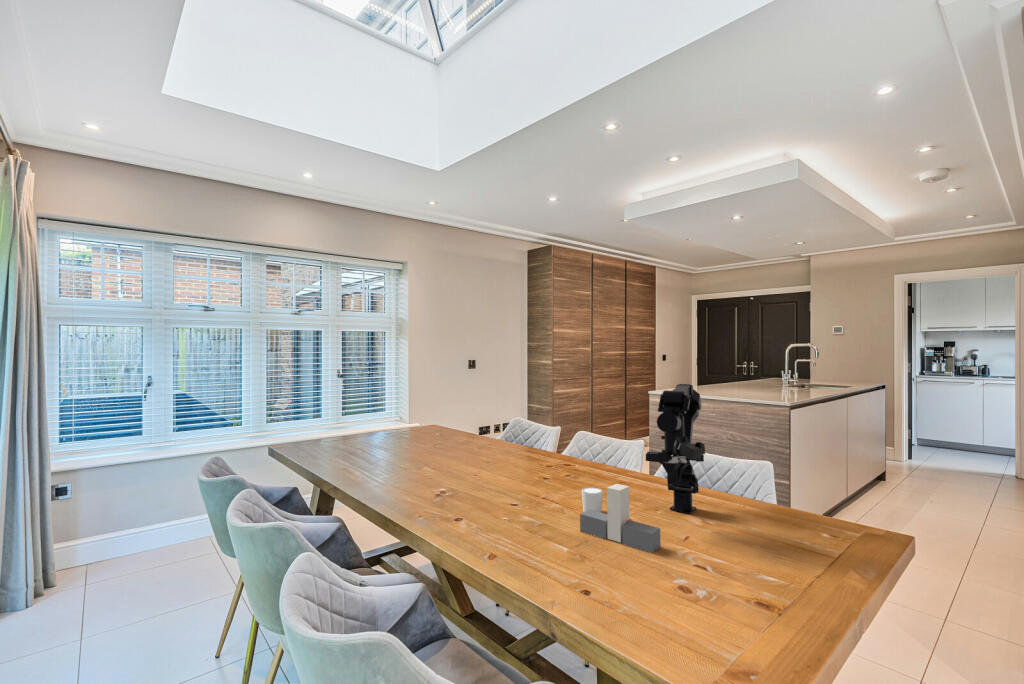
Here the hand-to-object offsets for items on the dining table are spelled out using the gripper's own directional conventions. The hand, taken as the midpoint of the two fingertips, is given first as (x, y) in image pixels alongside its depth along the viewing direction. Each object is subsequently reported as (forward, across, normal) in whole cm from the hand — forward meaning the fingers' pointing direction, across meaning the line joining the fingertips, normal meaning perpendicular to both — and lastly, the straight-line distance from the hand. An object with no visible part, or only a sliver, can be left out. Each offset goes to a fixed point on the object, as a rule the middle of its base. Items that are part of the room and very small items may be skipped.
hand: (675, 486), depth 140 cm
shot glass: (+10, -12, +24) cm, 29 cm away
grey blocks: (+14, -19, +4) cm, 24 cm away
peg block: (+14, -19, +4) cm, 24 cm away
